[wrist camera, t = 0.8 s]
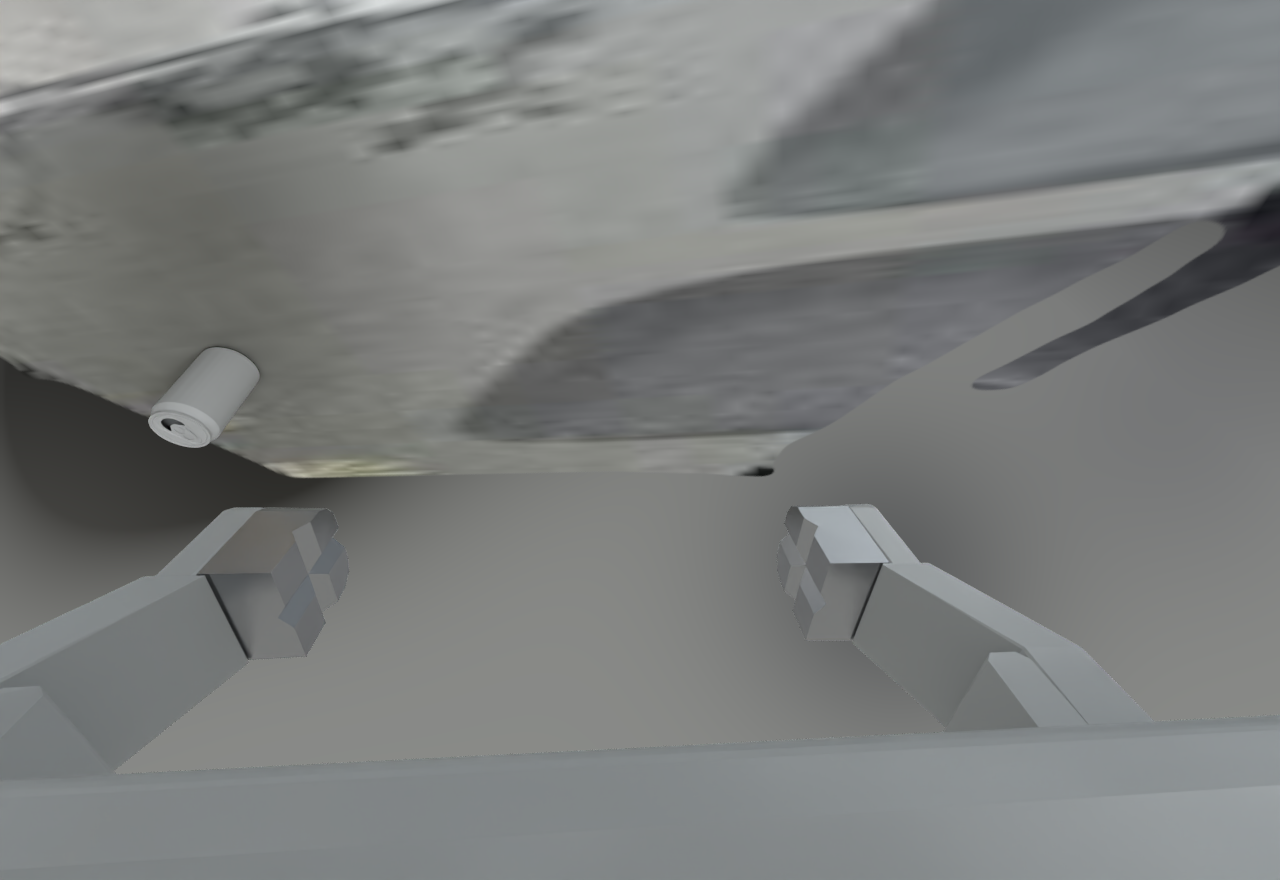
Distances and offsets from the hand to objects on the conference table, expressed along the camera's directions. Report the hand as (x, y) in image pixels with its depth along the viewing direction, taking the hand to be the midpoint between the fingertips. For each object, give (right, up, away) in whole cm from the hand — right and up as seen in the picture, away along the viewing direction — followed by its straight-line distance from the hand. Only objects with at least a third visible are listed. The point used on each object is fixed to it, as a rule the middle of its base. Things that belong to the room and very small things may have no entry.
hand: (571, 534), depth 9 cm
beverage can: (-51, +12, +55) cm, 76 cm away
